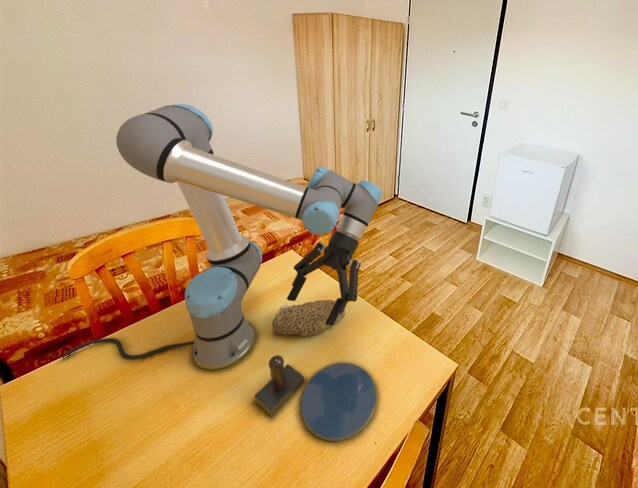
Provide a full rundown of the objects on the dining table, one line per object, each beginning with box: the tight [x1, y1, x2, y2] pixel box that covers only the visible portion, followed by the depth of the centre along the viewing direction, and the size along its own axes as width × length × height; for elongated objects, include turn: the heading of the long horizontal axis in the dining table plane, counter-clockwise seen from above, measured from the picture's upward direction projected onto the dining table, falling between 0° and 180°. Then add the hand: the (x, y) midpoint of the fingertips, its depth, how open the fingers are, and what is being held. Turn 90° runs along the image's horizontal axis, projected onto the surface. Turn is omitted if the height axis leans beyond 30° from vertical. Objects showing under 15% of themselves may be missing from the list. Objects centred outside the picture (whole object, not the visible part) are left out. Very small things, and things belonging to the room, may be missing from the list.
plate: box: [301, 362, 377, 442], centre depth 79 cm, size 18×18×1 cm
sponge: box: [271, 299, 346, 337], centre depth 97 cm, size 13×8×20 cm
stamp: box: [254, 354, 305, 417], centre depth 77 cm, size 10×6×13 cm, turn 148°
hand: (309, 312), depth 80 cm, fingers open, 13 cm apart
